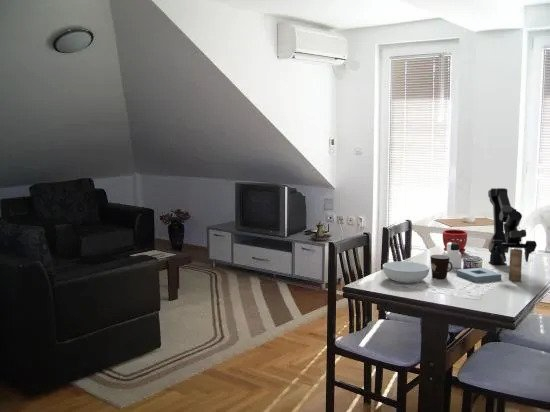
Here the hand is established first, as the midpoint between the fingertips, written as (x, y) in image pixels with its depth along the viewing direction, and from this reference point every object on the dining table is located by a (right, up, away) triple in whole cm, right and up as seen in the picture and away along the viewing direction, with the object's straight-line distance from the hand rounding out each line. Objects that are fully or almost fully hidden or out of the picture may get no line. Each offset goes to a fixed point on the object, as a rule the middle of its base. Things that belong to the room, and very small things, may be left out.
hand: (516, 261), depth 258 cm
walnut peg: (0, -9, +2) cm, 9 cm away
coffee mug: (-33, -9, +6) cm, 34 cm away
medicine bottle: (-20, -6, +30) cm, 36 cm away
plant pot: (-8, -1, +63) cm, 63 cm away
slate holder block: (-14, -8, +8) cm, 18 cm away
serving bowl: (-49, -9, +3) cm, 50 cm away
